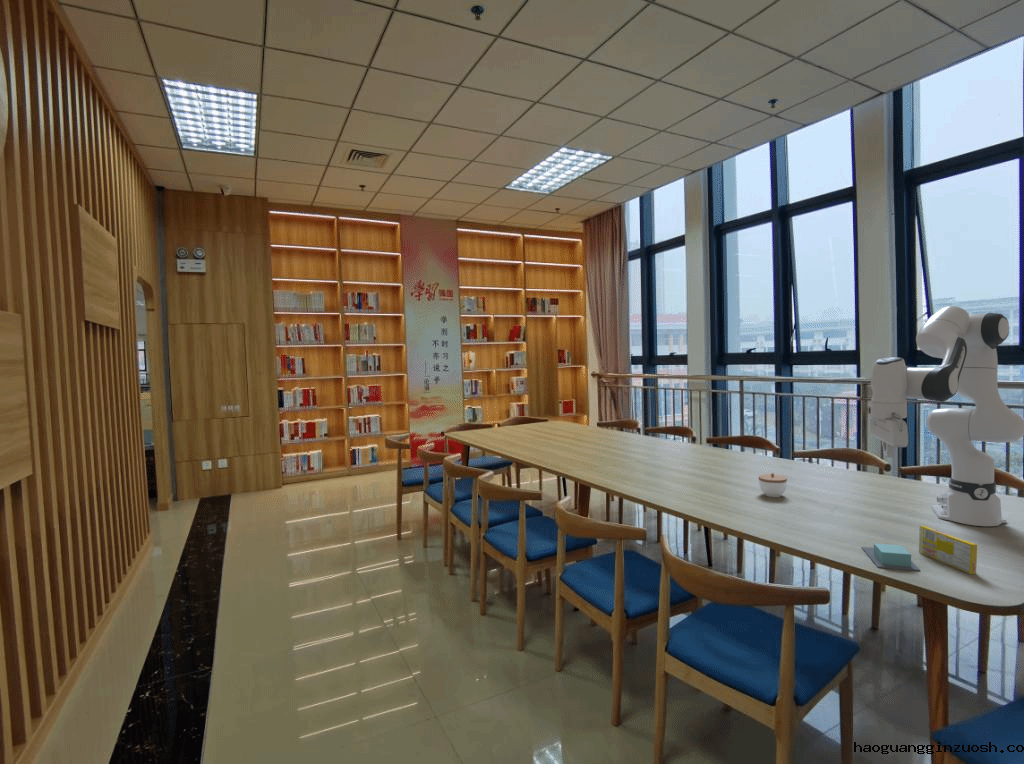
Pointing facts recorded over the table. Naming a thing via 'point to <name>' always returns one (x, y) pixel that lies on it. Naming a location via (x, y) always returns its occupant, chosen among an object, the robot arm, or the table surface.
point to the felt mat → (870, 553)
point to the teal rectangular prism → (892, 554)
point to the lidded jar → (772, 484)
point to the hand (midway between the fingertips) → (888, 456)
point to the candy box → (948, 549)
